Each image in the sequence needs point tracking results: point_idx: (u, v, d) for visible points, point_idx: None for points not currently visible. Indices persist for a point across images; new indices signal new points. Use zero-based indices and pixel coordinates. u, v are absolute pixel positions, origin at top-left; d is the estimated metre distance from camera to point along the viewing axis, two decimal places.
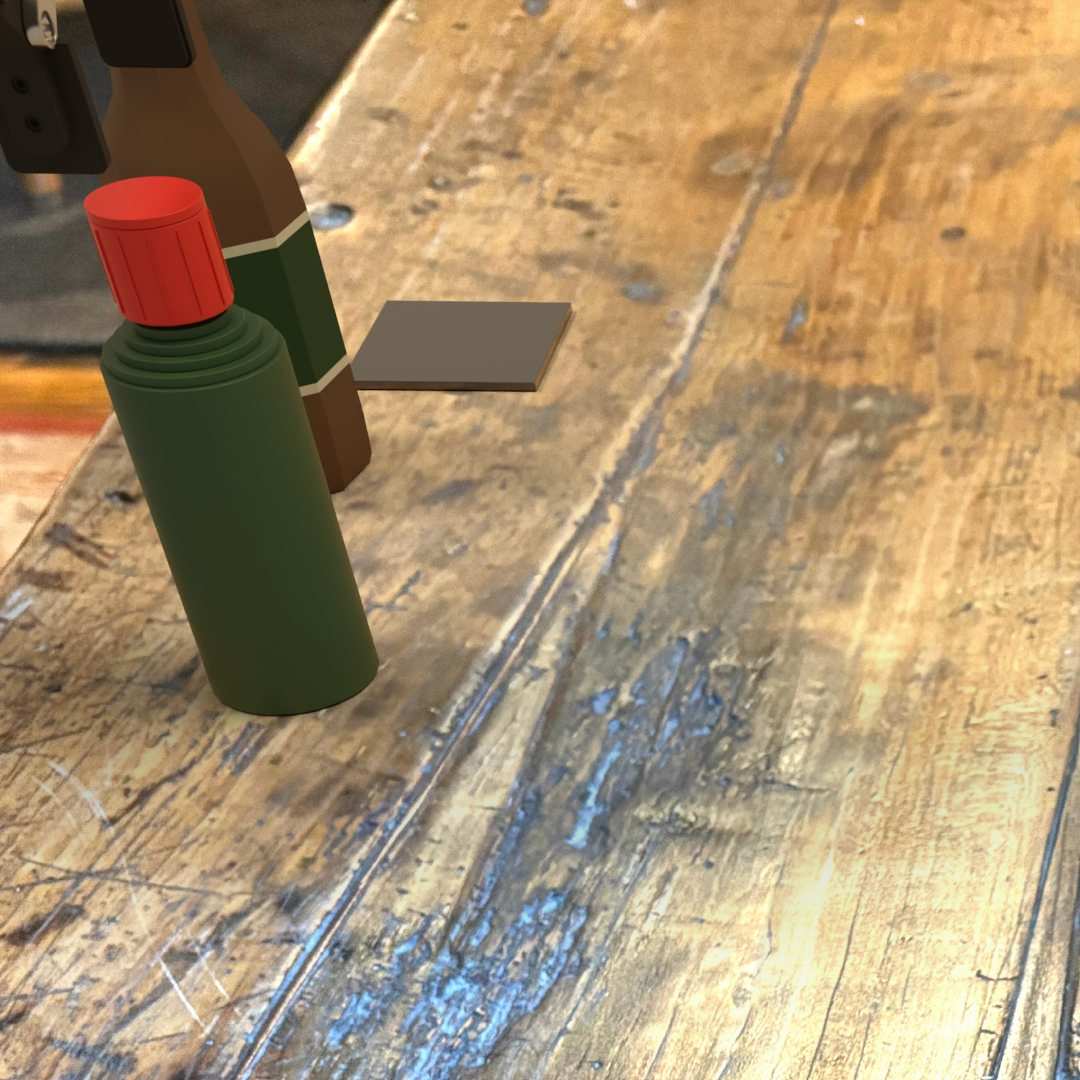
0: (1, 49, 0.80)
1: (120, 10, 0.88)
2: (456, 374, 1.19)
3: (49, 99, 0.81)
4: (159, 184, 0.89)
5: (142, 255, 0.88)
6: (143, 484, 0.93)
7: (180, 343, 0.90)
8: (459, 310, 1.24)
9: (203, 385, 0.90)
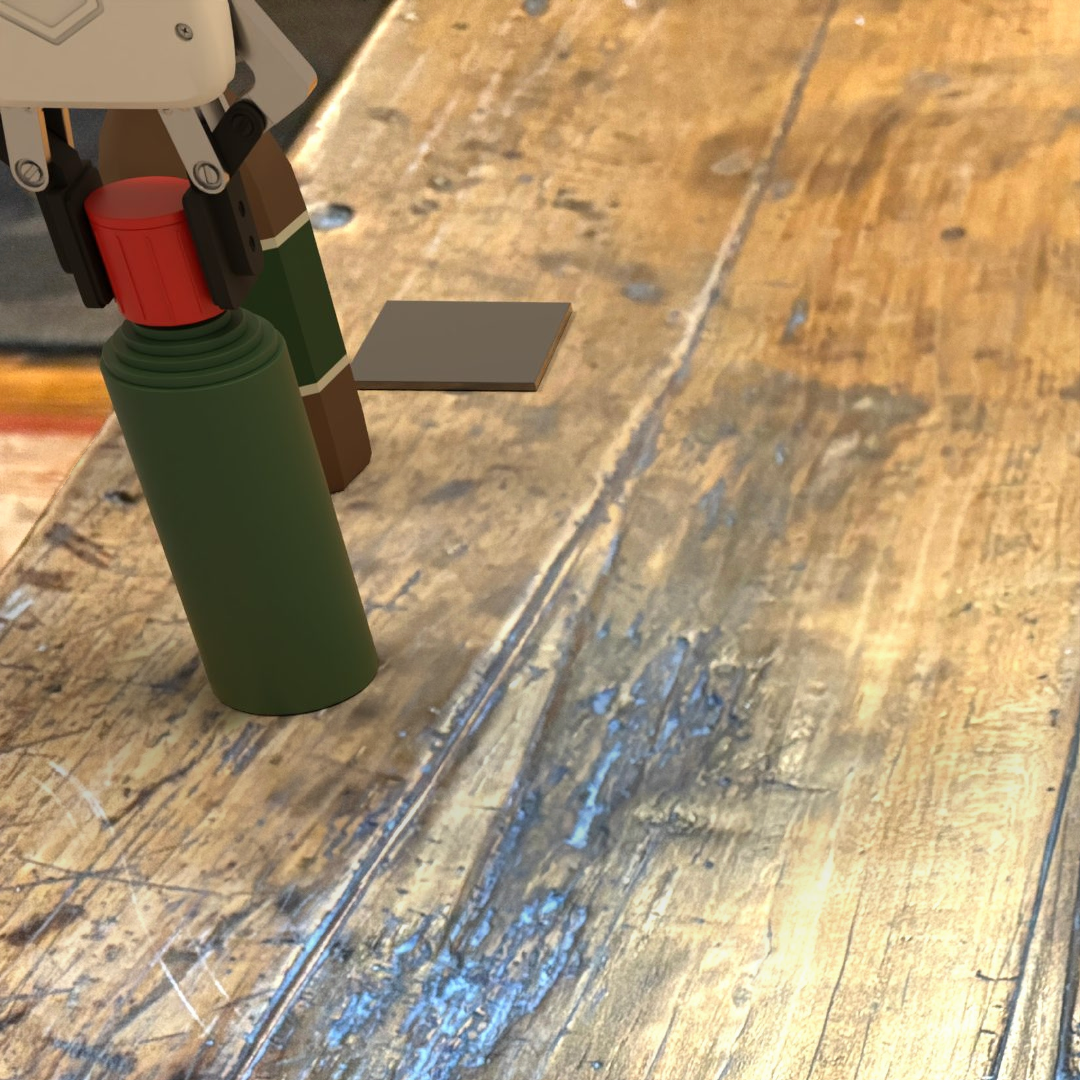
0: (231, 180, 0.88)
1: None
2: (456, 374, 1.19)
3: None
4: (159, 184, 0.89)
5: (142, 255, 0.88)
6: (143, 484, 0.93)
7: (180, 343, 0.90)
8: (459, 310, 1.24)
9: (203, 385, 0.90)
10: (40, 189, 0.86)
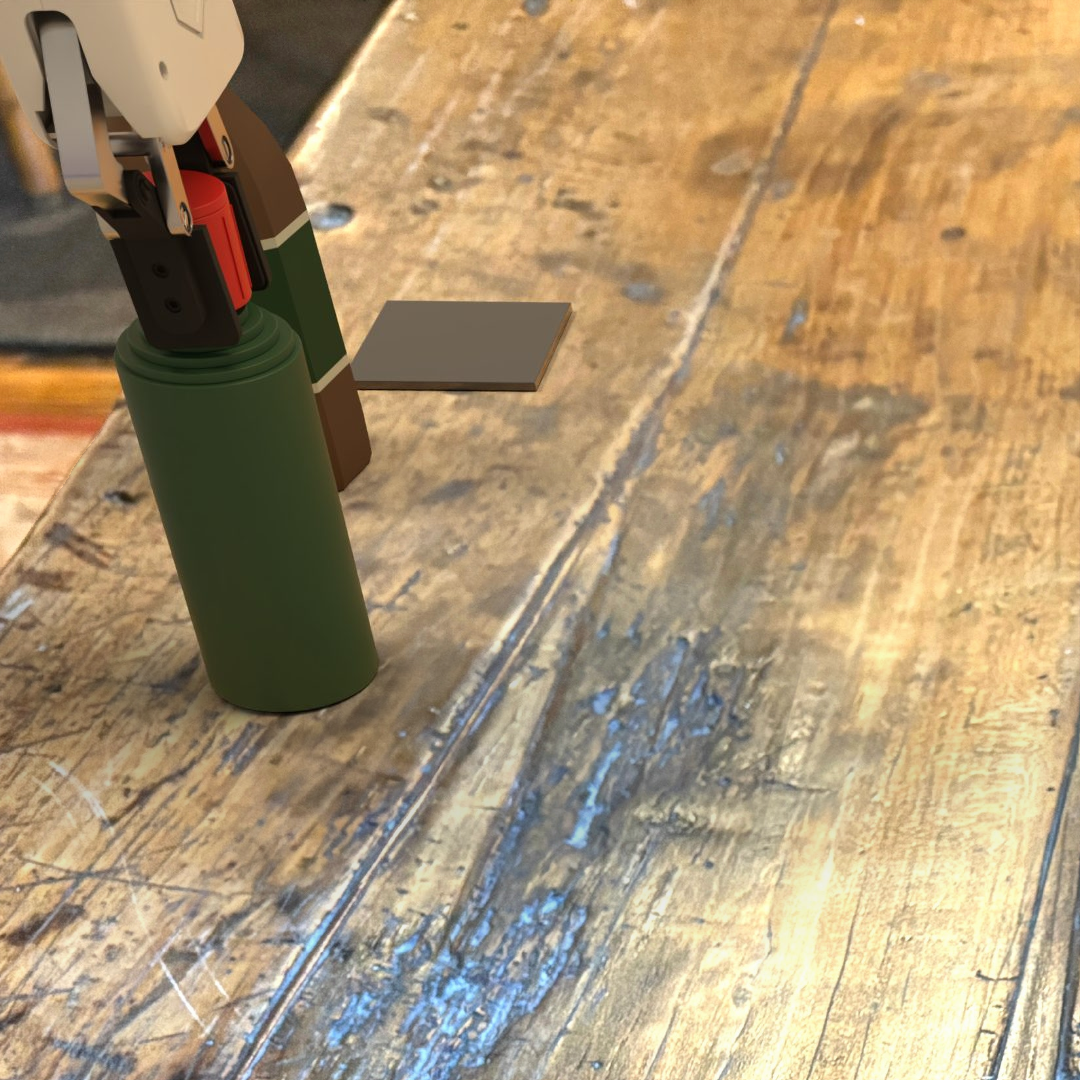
0: None
1: None
2: (456, 374, 1.19)
3: None
4: None
5: (233, 226, 0.89)
6: (152, 478, 0.93)
7: None
8: (459, 310, 1.24)
9: (218, 383, 0.90)
10: (193, 230, 0.86)
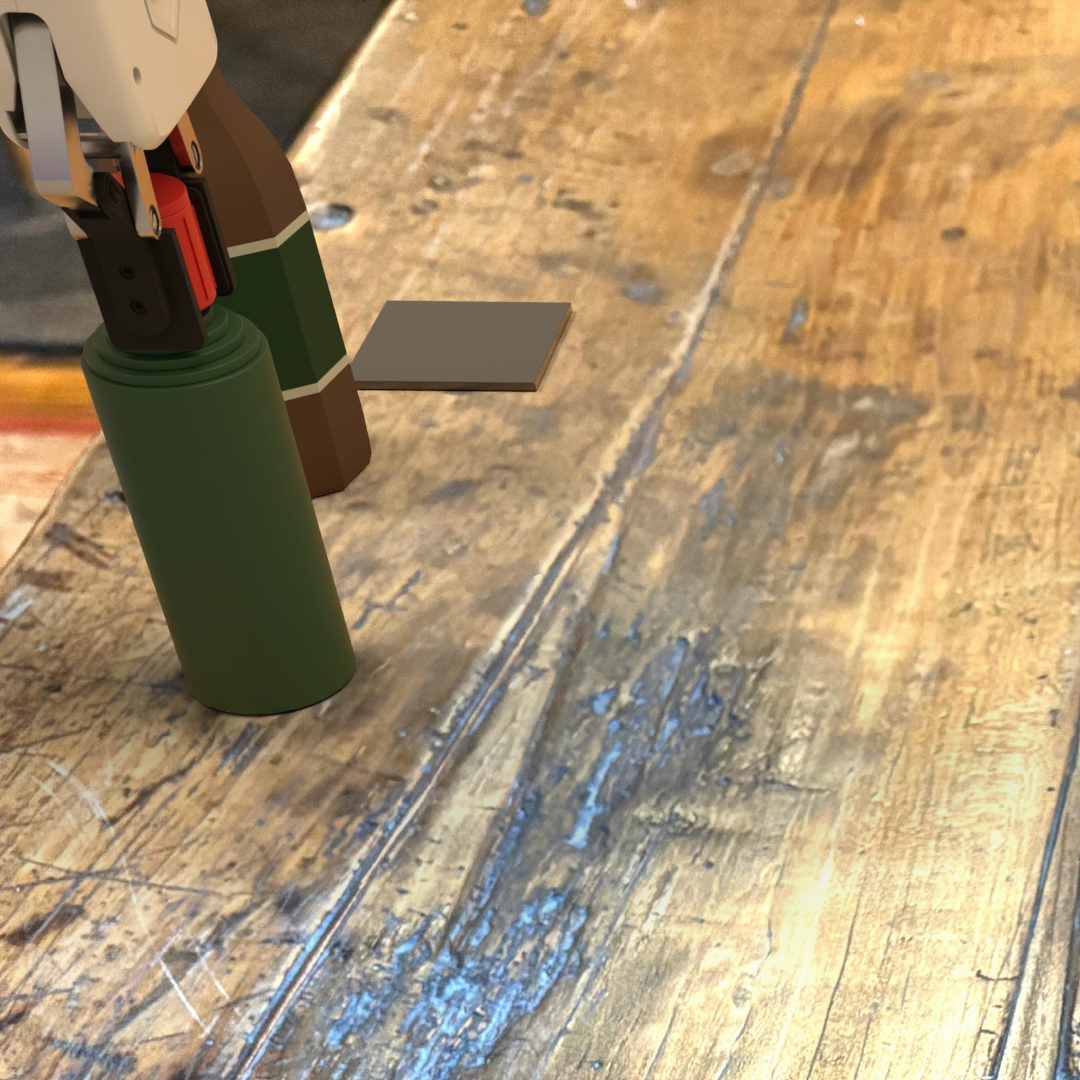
0: None
1: None
2: (456, 374, 1.19)
3: None
4: None
5: (195, 227, 0.89)
6: (122, 482, 0.93)
7: None
8: (459, 310, 1.24)
9: (184, 384, 0.90)
10: (161, 233, 0.86)
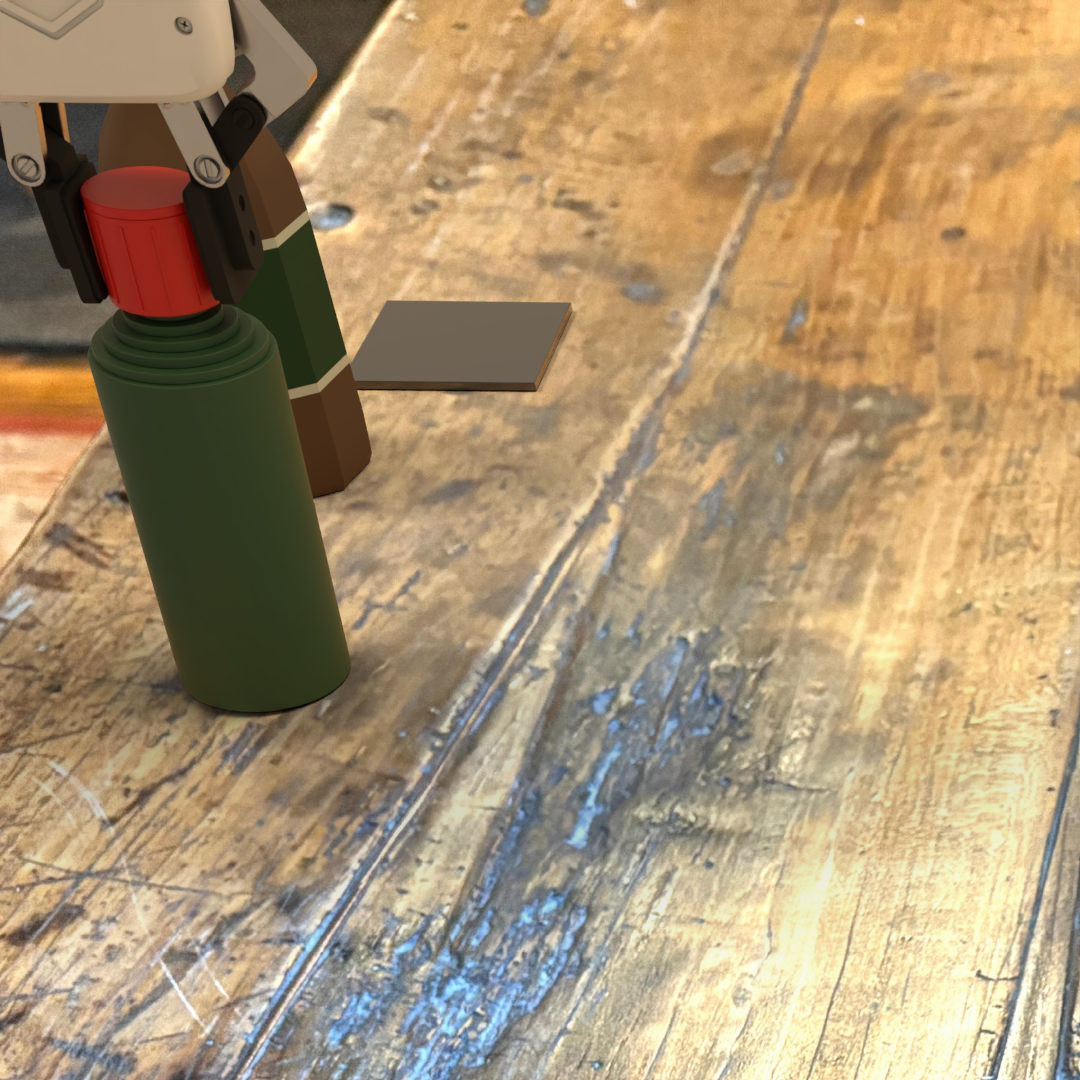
0: (231, 174, 0.87)
1: None
2: (456, 374, 1.19)
3: None
4: (128, 200, 0.87)
5: None
6: (125, 476, 0.93)
7: (172, 340, 0.90)
8: (459, 310, 1.24)
9: (193, 383, 0.90)
10: (37, 184, 0.86)
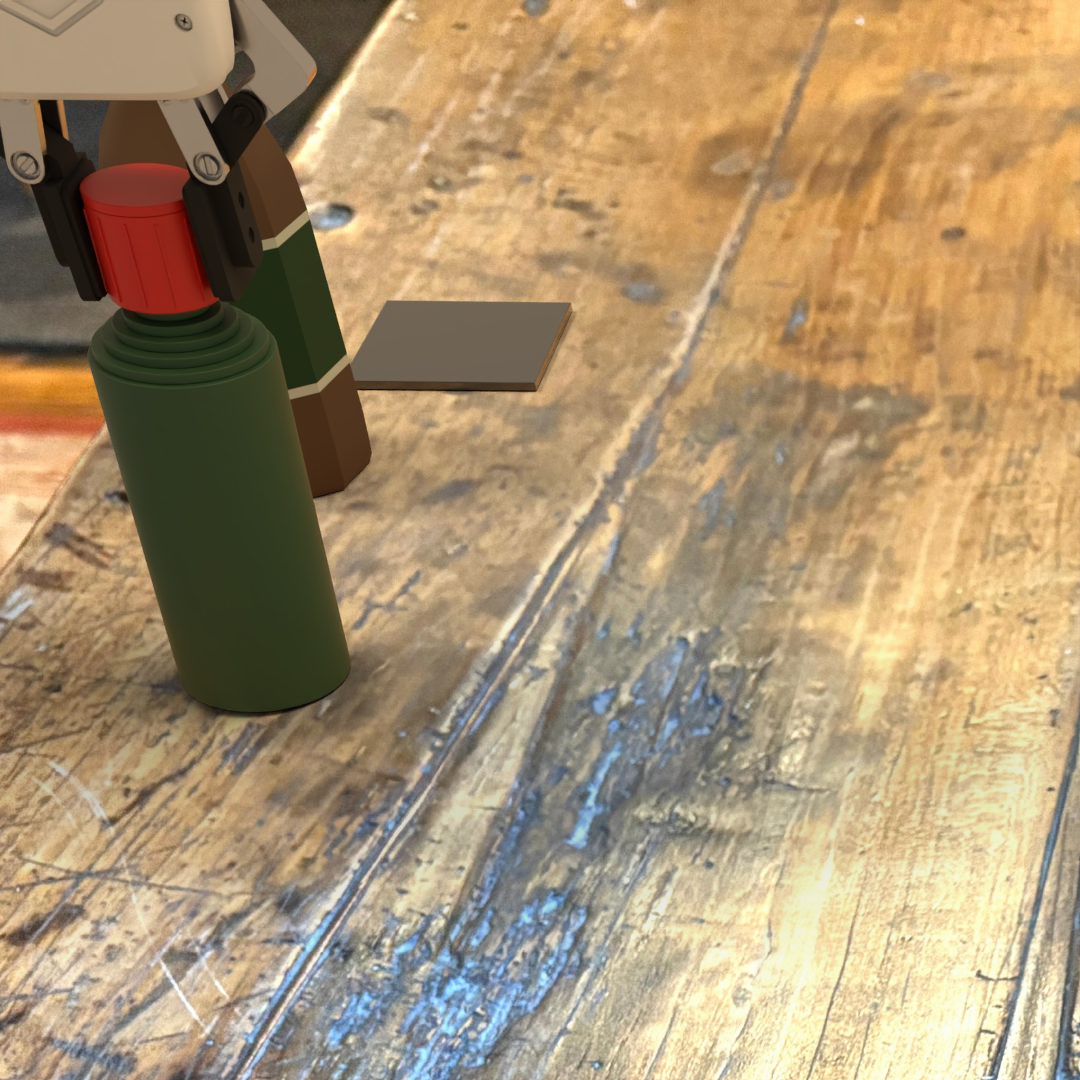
0: (231, 171, 0.87)
1: None
2: (456, 374, 1.19)
3: None
4: (175, 186, 0.88)
5: None
6: (125, 476, 0.93)
7: (172, 340, 0.90)
8: (459, 310, 1.24)
9: (193, 383, 0.90)
10: (36, 181, 0.86)
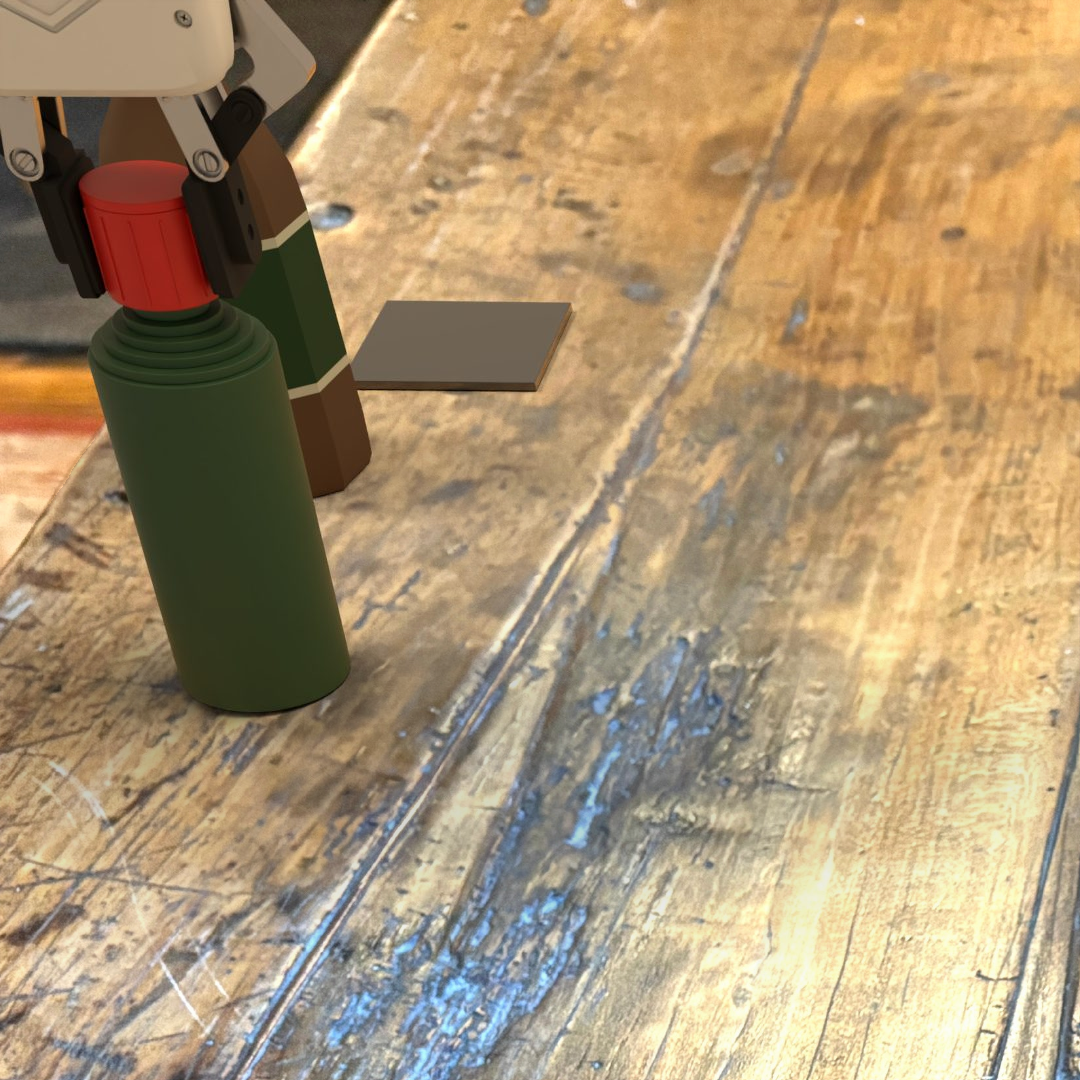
0: (230, 168, 0.87)
1: None
2: (456, 374, 1.19)
3: None
4: (145, 168, 0.88)
5: (154, 239, 0.87)
6: (125, 476, 0.93)
7: (172, 340, 0.90)
8: (459, 310, 1.24)
9: (193, 383, 0.90)
10: (35, 178, 0.86)
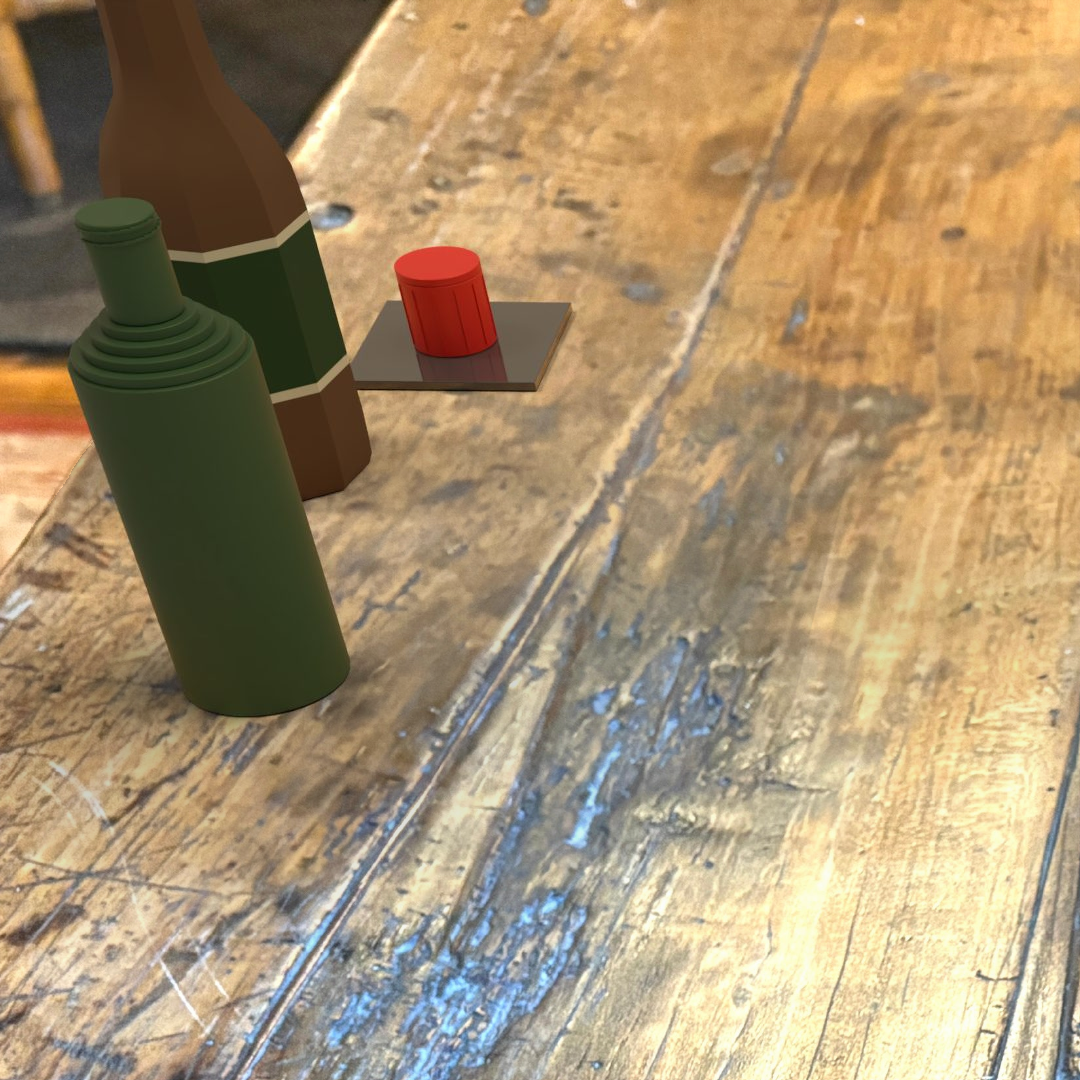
0: None
1: None
2: (456, 374, 1.19)
3: None
4: (433, 272, 1.18)
5: None
6: (112, 485, 0.93)
7: (148, 344, 0.90)
8: None
9: (170, 386, 0.90)
10: None
